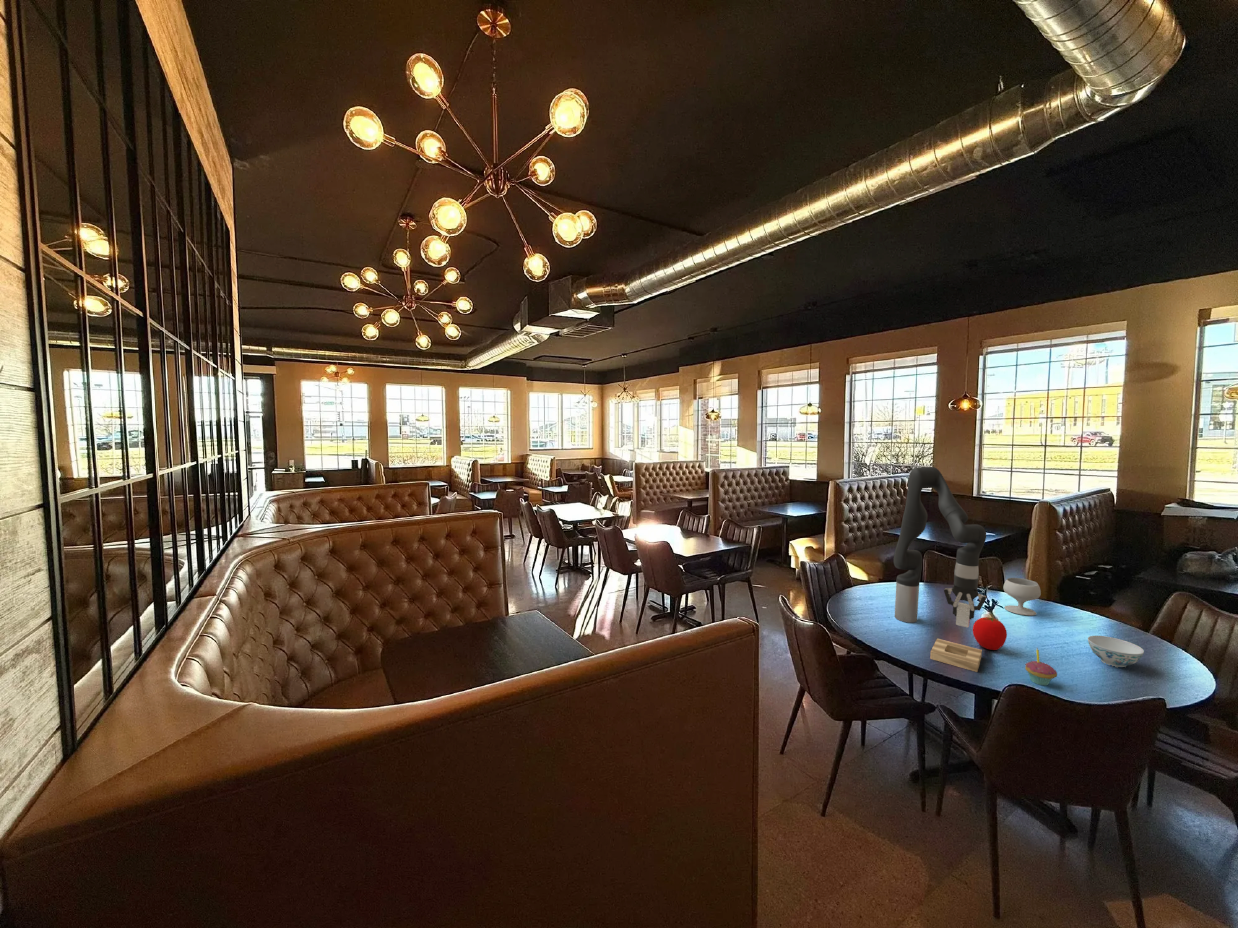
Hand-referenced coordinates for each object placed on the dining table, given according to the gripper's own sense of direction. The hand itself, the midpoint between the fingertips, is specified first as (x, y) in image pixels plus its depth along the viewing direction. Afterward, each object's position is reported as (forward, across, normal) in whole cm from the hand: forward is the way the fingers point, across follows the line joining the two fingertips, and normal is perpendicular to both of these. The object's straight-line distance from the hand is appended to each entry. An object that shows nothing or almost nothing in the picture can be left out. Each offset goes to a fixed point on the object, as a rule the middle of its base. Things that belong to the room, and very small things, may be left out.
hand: (963, 616), depth 187 cm
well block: (+17, +1, +1) cm, 17 cm away
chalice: (+18, -18, -74) cm, 78 cm away
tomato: (+17, -8, -18) cm, 26 cm away
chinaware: (+17, -46, -33) cm, 59 cm away
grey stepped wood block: (+3, 0, 0) cm, 3 cm away
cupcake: (+17, -24, +3) cm, 29 cm away
